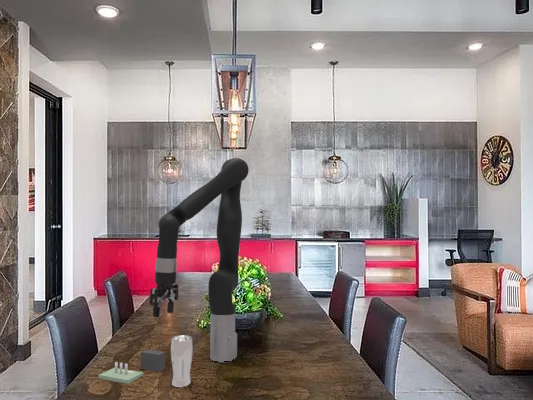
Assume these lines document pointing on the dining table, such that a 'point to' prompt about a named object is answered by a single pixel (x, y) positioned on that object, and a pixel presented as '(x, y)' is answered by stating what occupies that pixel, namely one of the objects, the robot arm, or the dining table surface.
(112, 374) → the header board
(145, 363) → the block
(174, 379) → the beer glass
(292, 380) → the dining table surface
